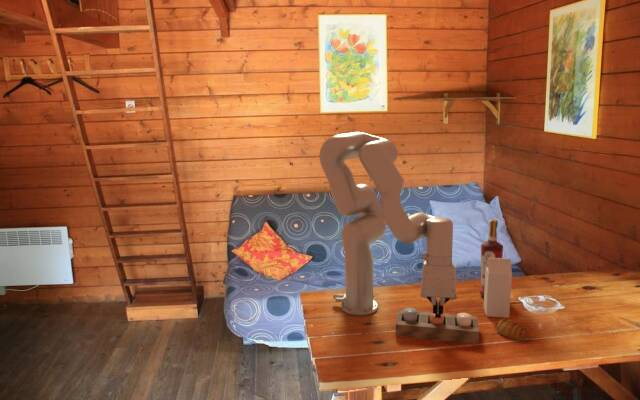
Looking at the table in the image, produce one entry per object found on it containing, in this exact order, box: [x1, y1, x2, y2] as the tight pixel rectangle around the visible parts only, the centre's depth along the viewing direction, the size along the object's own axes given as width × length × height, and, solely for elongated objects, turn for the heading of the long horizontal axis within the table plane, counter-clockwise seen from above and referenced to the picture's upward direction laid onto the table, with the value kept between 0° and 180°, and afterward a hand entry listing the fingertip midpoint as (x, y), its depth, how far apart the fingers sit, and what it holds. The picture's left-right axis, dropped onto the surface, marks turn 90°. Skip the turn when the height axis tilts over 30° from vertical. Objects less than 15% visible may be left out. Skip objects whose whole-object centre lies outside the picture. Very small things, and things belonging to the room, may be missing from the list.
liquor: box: [479, 219, 504, 297], centre depth 168 cm, size 7×7×28 cm
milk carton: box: [483, 257, 513, 319], centre depth 157 cm, size 7×7×19 cm
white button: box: [456, 312, 473, 327], centre depth 145 cm, size 4×4×4 cm
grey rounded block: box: [403, 307, 418, 322], centre depth 149 cm, size 4×4×4 cm
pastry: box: [496, 317, 531, 341], centre depth 145 cm, size 9×7×4 cm
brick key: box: [430, 313, 444, 325], centre depth 147 cm, size 4×4×4 cm
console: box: [395, 309, 480, 345], centre depth 147 cm, size 24×10×4 cm, turn 76°
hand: (437, 315), depth 146 cm, fingers closed
